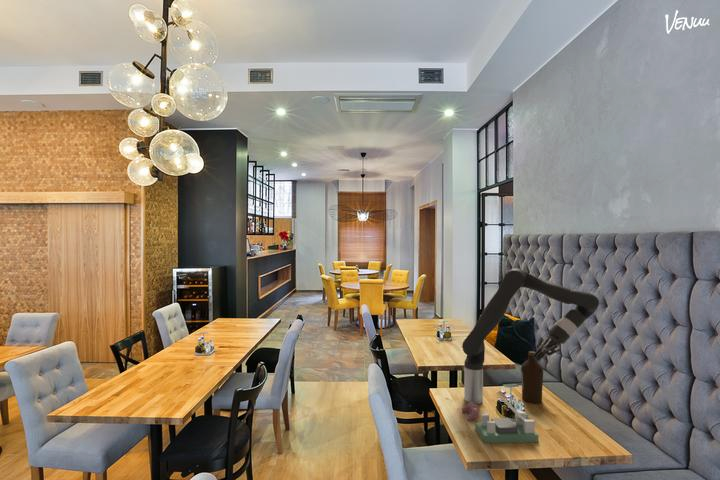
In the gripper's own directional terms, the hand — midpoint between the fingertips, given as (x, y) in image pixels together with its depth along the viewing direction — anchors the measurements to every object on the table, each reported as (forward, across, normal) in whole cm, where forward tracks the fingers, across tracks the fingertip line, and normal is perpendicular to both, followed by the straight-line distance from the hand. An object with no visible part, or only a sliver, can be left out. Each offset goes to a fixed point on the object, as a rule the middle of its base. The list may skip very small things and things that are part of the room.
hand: (535, 358), depth 160 cm
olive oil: (+12, -32, +33) cm, 48 cm away
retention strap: (+23, +2, +7) cm, 24 cm away
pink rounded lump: (+39, -15, +6) cm, 43 cm away
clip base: (+33, +2, +13) cm, 35 cm away
